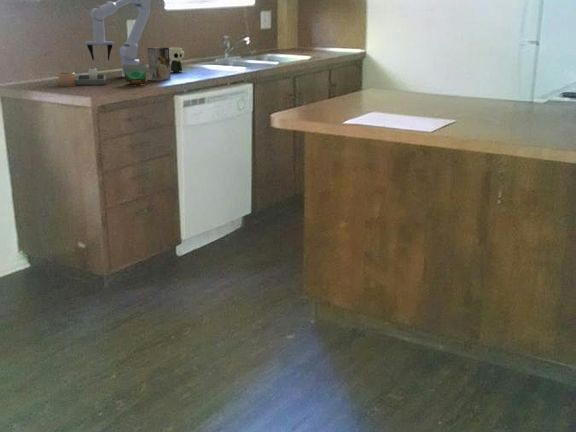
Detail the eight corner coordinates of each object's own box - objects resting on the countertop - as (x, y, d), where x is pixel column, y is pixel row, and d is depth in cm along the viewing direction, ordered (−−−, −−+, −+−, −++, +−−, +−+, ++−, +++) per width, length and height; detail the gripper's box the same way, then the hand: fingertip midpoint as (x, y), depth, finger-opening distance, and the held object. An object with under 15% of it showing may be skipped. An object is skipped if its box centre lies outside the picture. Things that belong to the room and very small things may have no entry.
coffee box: (163, 78, 383) (161, 46, 378) (170, 79, 379) (169, 47, 374) (148, 79, 377) (147, 47, 372) (156, 80, 373) (155, 48, 368)
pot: (76, 84, 359) (75, 71, 357) (75, 86, 351) (74, 73, 349) (59, 84, 357) (58, 71, 355) (58, 86, 350) (57, 73, 348)
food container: (126, 86, 351) (125, 65, 348) (123, 85, 357) (122, 64, 354) (151, 85, 357) (150, 64, 354) (147, 83, 362) (146, 63, 359)
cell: (97, 80, 369) (96, 66, 367) (97, 81, 365) (96, 67, 363) (89, 80, 368) (88, 67, 366) (89, 81, 364) (88, 68, 362)
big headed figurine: (171, 73, 402) (170, 49, 398) (164, 72, 407) (163, 48, 403) (188, 72, 409) (187, 48, 405) (181, 70, 414) (180, 47, 410)
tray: (106, 79, 376) (105, 74, 375) (105, 84, 357) (105, 79, 356) (77, 80, 373) (77, 75, 372) (76, 85, 354) (75, 80, 353)
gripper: (84, 33, 368) (86, 60, 372) (113, 33, 371) (115, 60, 375) (84, 32, 374) (86, 59, 378) (113, 32, 377) (115, 59, 381)
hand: (100, 59), depth 377 cm, fingers open, 7 cm apart
